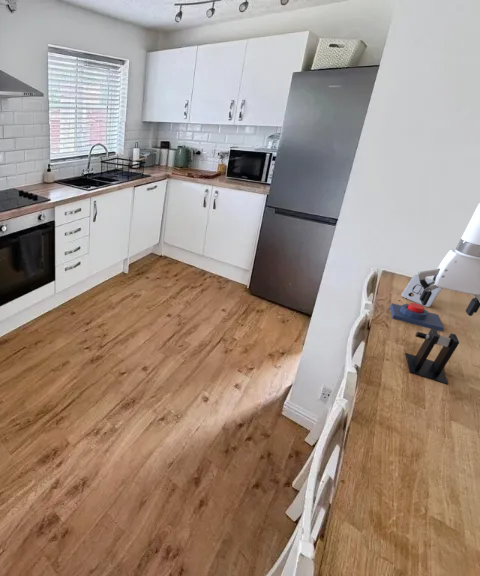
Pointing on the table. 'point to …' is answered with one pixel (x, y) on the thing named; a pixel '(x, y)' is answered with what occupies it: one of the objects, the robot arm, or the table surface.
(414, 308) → the button
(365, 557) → the table surface
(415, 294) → the electrical switch
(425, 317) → the switch block
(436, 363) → the bracket
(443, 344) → the lever
